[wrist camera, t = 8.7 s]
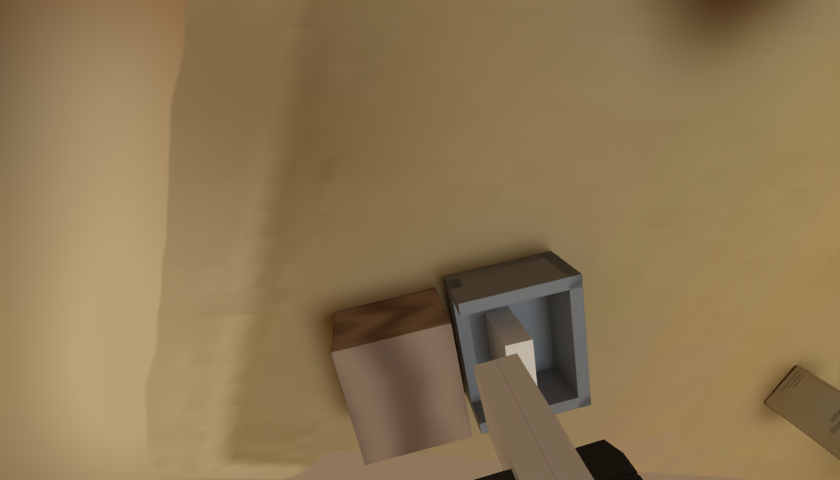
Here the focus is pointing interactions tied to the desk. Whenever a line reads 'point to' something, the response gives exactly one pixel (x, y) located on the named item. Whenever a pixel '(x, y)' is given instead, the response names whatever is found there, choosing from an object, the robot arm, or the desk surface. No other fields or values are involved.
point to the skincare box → (810, 407)
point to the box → (525, 325)
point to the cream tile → (510, 339)
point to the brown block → (400, 375)
